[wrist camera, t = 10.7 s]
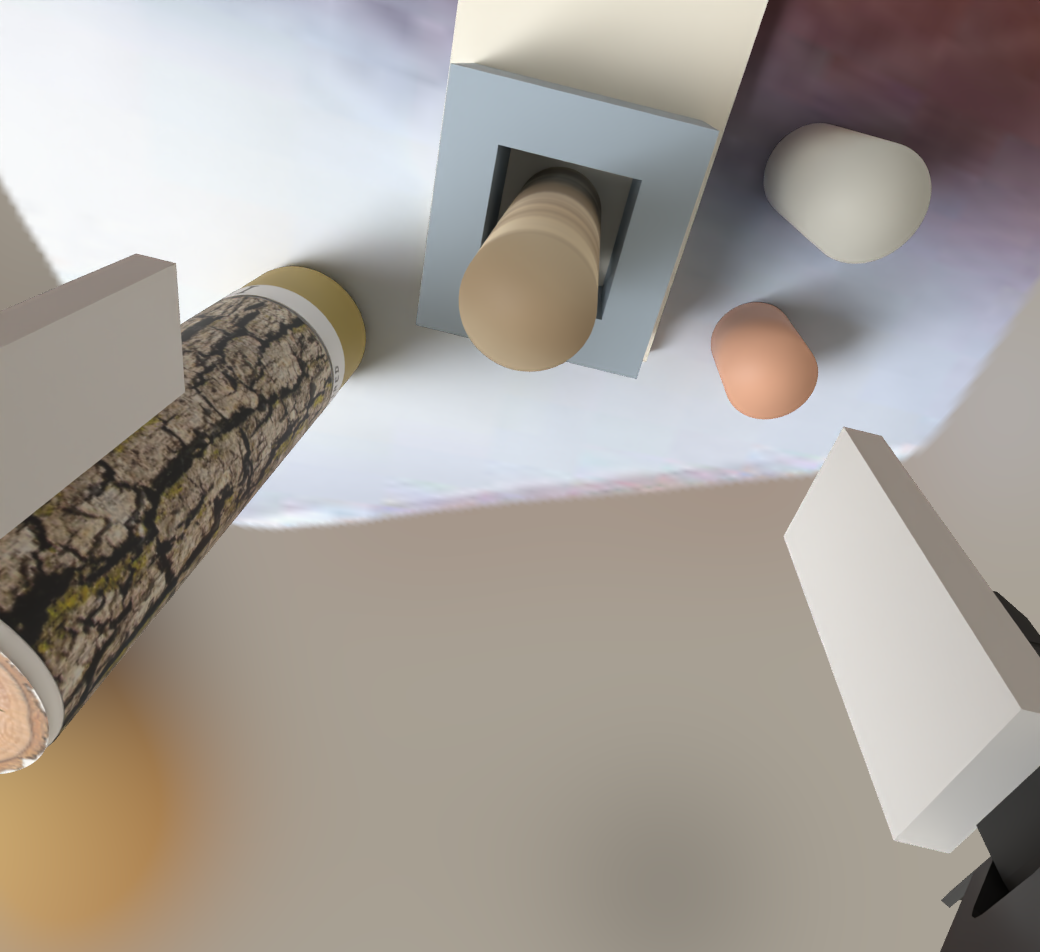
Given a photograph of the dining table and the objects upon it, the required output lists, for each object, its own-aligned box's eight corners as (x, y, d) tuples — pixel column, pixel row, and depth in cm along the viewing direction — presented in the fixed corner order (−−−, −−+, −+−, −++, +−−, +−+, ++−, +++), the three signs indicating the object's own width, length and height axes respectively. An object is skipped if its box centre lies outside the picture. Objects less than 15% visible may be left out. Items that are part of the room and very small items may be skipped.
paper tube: (387, 299, 35) (61, 651, 14) (348, 402, 39) (40, 806, 18) (265, 238, 34) (-279, 520, 13) (236, 349, 38) (-230, 711, 17)
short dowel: (727, 293, 33) (745, 327, 29) (805, 312, 33) (834, 349, 29) (699, 366, 36) (712, 407, 31) (772, 384, 36) (794, 427, 31)
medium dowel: (785, 113, 29) (839, 128, 22) (874, 135, 29) (955, 157, 22) (749, 208, 31) (788, 248, 24) (832, 228, 31) (894, 275, 25)
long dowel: (524, 156, 30) (470, 218, 18) (611, 178, 30) (614, 253, 18) (507, 246, 32) (448, 354, 20) (588, 266, 32) (577, 385, 20)
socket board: (485, -155, 26) (453, -210, 20) (788, -77, 26) (834, -111, 21) (423, 298, 35) (391, 340, 30) (645, 353, 35) (651, 404, 30)
